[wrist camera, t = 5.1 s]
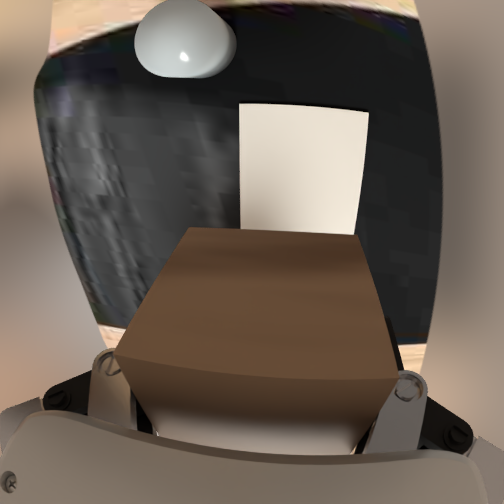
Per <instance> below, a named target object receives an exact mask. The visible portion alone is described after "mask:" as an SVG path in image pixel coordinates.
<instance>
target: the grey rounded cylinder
mask: <svg viewBox="0 0 504 504" xmlns="http://www.w3.org/2000/svg"><path fill="white" fill-rule="evenodd" d="M236 46H237V42H236V36H235V34H234V32H233V30H232V28H231V27H230V26H229V25H228V24H227V23H226V22H225V21H224V20H223V19H222V18H220V17H219V16H218V15H217V14H216V13H215V12H214V11H213V10H211V9H210V8H209V7H208V6H207V5H206V4H204V3H202V2H201V1H198V0H167V1H164V2H162V3H160V4H159V5H157V6H155V7H154V8H153V9H151V10H150V11H149V12H148V13H147V14H146V15H145V17H144V18H143V19H142V21H141V22H140V24H139V26H138V29H137V32H136V35H135V51H136V54H137V57H138V59H139V61H140V62H141V64H142V65H143V66H144V67H145V68H146V69H147V70H149V71H150V72H152V73H154V74H156V75H159V76H164V77H184V78H207V77H211V76H214V75H216V74H218V73H220V72H221V71H223V70H224V69H225V68H226V67H227V66H228V65H229V64H230V62H231V61H232V59H233V57H234V55H235V52H236Z"/></svg>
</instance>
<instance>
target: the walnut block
mask: <svg viewBox="0 0 504 504" xmlns="http://www.w3.org/2000/svg"><path fill="white" fill-rule="evenodd" d="M113 355H114V357H115V359H116V361H117V363H118V365H119V367H120V369H121V371H122V373H123V375H124V377H125V379H126V380H127V382H128V384H129V386H130V388H131V390H132V391H133V393H134V395H135V397H136V398H137V400H138V402H139V403H140V405H141V407H142V408H143V410H144V412H145V413H146V415H147V417H148V418H149V420H150V422H151V423H152V425H153V426H154V428H155V429H156V431H157V432H158V434H159V436H160V437H164V438H169V439H173V440H178V441H183V442H188V443H193V444H199V445H205V446H211V447H217V448H224V449H231V450H239V451H249V452H259V453H272V454H289V455H350V453H351V452H352V451H353V450H354V448H355V447H356V446H357V444H358V443H359V441H360V440H361V439H362V437H363V436H364V434H365V433H366V431H367V430H368V428H369V427H370V425H371V424H372V422H373V421H374V419H375V418H376V416H377V415H378V413H379V412H380V410H381V408H382V407H383V405H384V404H385V402H386V400H387V399H388V397H389V395H390V394H391V392H392V390H393V389H394V387H395V385H396V383H397V382H398V380H399V378H400V377H399V373H398V369H397V364H396V360H395V356H394V352H393V348H392V344H391V341H390V337H389V333H388V329H387V326H386V322H385V319H384V315H383V312H382V308H381V305H380V302H379V298H378V295H377V292H376V289H375V286H374V282H373V279H372V276H371V273H370V270H369V267H368V264H367V261H366V258H365V256H364V253H363V250H362V247H361V244H360V241H359V239H358V236H357V235H351V234H334V233H316V232H296V231H275V230H252V229H227V228H198V227H189V228H188V230H187V231H186V233H185V234H184V236H183V237H182V239H181V240H180V242H179V243H178V245H177V247H176V248H175V250H174V251H173V253H172V254H171V256H170V258H169V259H168V261H167V262H166V264H165V266H164V267H163V269H162V270H161V272H160V274H159V275H158V277H157V278H156V280H155V282H154V283H153V285H152V287H151V288H150V290H149V292H148V293H147V295H146V297H145V298H144V300H143V302H142V303H141V305H140V307H139V308H138V310H137V312H136V313H135V315H134V317H133V319H132V320H131V322H130V324H129V326H128V327H127V329H126V331H125V333H124V334H123V336H122V338H121V340H120V341H119V343H118V345H117V347H116V349H115V350H114V352H113Z"/></svg>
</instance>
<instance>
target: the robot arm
mask: <svg viewBox="0 0 504 504" xmlns="http://www.w3.org/2000/svg"><path fill="white" fill-rule="evenodd" d="M384 319H385V322H386V326H387V329H388V333H389V337H390V341H391V344H392V348H393V352H394V356H395V360H396V364H397V369H398V373H399V377H400V378H399V380H398V382H397V383H396V385H395V387H394V389H393V390H392V392H391V394H390V395H389V397H388V399H387V400H386V402H385V404H384V405H383V407H382V408H381V410H380V412H379V413H378V415H377V416H376V418H375V419H374V421H373V422H372V424H371V425H370V427H369V428H368V430H367V431H366V433H365V434H364V436H363V437H362V439H361V440H360V441H359V443H358V444H357V446H356V447H355V448H354V450H353V452H352V454H351V455H289V454H272V453H259V452H249V451H239V450H231V449H224V448H217V447H211V446H205V445H199V444H193V443H188V442H183V441H178V440H173V439H169V438H164V437H160V436H157V432H156V429H155V428H154V426H153V425H152V423H151V422H150V420H149V418H148V417H147V415H146V413H145V412H144V410H143V408H142V407H141V405H140V403H139V402H138V400H137V398H136V397H135V395H134V393H133V391H132V390H131V388H130V386H129V384H128V382H127V380H126V379H125V377H124V375H123V373H122V371H121V369H120V367H119V365H118V363H117V361H116V359H115V357H114V355H113V352H114V350H115V349H116V348H110V349H106V350H104V351H102V352H101V353H100V354H99V355H97V357H96V358H95V360H94V362H93V366H92V370H90V371H88V372H86V373H83V374H81V375H79V376H76V377H74V378H72V379H69V380H67V381H64V382H62V383H60V384H57V385H55V386H53V387H51V388H50V389H49V390H48V391H47V392H46V394H45V395H44V398H43V399H41V398H40V397H37V398H34V399H31V400H29V401H26V402H24V403H21V404H18V405H15V406H13V407H10V408H7V409H5V410H4V411H2V413H1V414H0V444H1V449H2V455H1V457H0V504H502V502H503V500H504V451H502V450H501V449H499V448H497V447H496V446H494V445H493V444H491V443H489V442H488V441H486V440H485V439H483V438H482V437H480V436H478V437H477V438H476V437H474V436H473V431H472V429H471V427H470V425H469V424H468V423H467V422H465V421H464V420H462V419H461V418H459V417H458V416H456V415H455V414H453V413H452V412H450V411H449V410H447V409H446V408H444V407H443V406H441V405H440V404H438V403H437V402H435V401H434V400H432V399H431V398H430V397H428V396H427V393H428V391H427V390H428V388H427V384H426V382H425V380H424V379H423V378H422V377H421V376H420V375H419V374H417V373H415V372H413V371H408V370H404V367H403V363H402V360H401V356H400V352H399V348H398V345H397V341H396V338H395V334H394V331H393V327H392V324H391V321H390V318H389V317H388V316H384Z"/></svg>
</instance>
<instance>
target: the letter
mask: <svg viewBox="0 0 504 504" xmlns="http://www.w3.org/2000/svg"><path fill="white" fill-rule="evenodd" d="M368 115H369V113H367V112H360V111H352V110H344V109H334V108H324V107H313V106H298V105H279V104H239V122H240V219H241V229H252V230H275V231H296V232H316V233H334V234H351V235H353V234H354V229H355V223H356V217H357V210H358V204H359V197H360V190H361V182H362V175H363V166H364V158H365V149H366V139H367V128H368Z"/></svg>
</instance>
